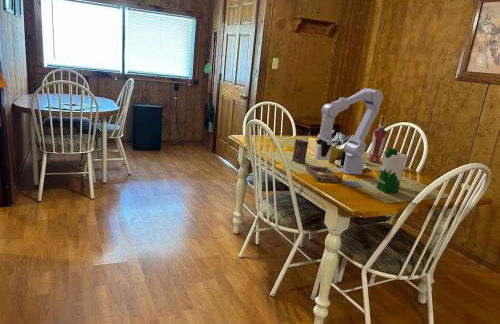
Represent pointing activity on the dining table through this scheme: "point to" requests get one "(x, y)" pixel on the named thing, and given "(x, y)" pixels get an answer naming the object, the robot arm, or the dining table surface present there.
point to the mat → (351, 184)
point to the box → (300, 151)
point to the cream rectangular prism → (318, 153)
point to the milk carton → (391, 171)
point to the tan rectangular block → (326, 174)
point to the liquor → (378, 141)
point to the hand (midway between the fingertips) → (321, 155)
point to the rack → (322, 179)
